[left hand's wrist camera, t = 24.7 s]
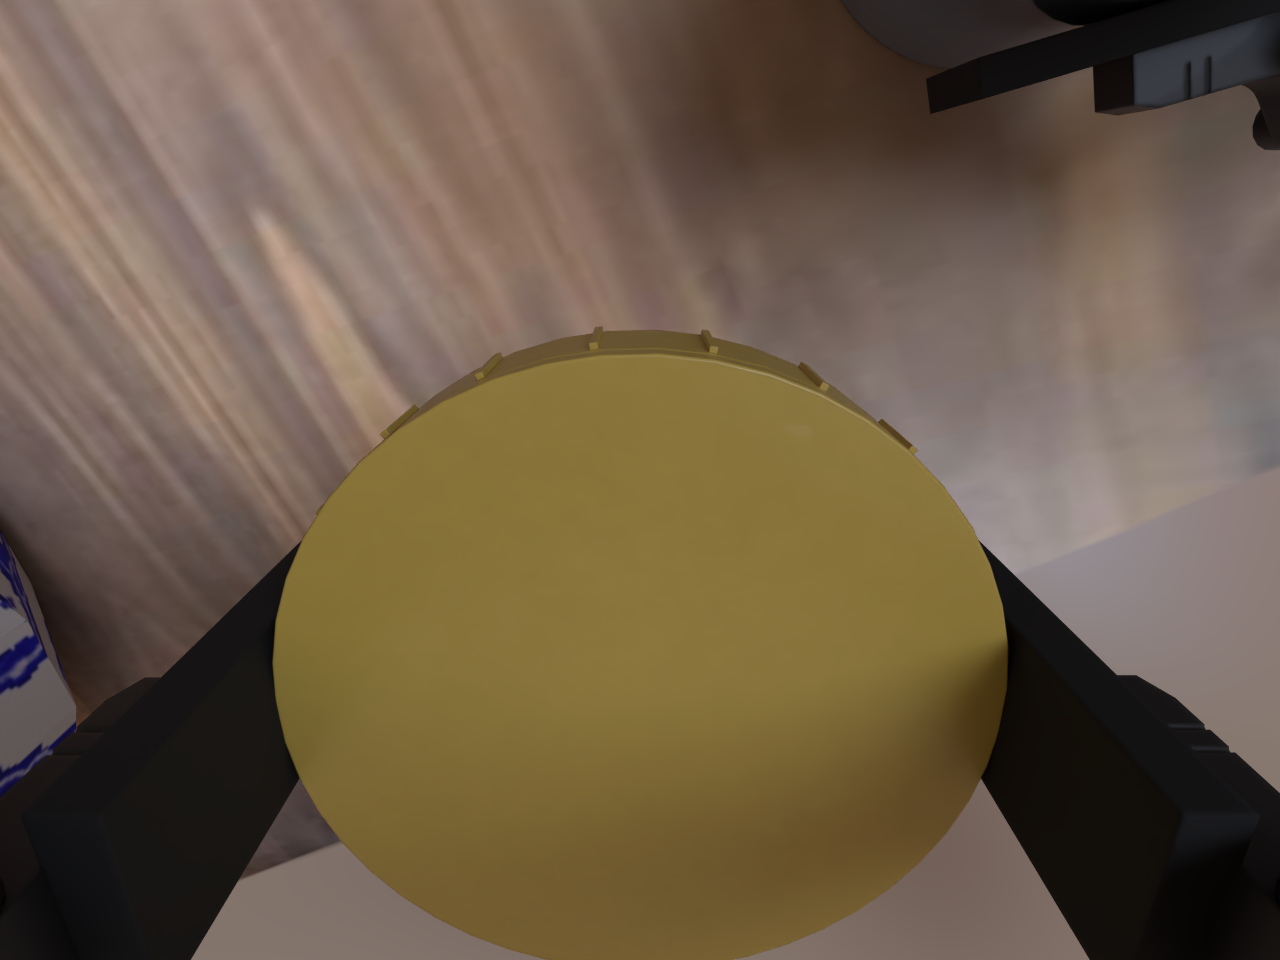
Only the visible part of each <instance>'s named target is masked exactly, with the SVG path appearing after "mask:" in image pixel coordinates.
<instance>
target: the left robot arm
mask: <svg viewBox="0 0 1280 960" xmlns="http://www.w3.org/2000/svg"><path fill="white" fill-rule="evenodd" d="M979 543H980V545H981V547H982V549H983V551H984V553H985V555H986V557H987V559H988V561H989V563H990V565H991V569H992V572H993V575H994V579H995V582H996V585H997V588H998V592H999V595H1000V598H1001V602H1002V605H1003V612H1004V619H1005V626H1006V634H1007V641H1008V681H1007V691H1006V696H1005V701H1004V706H1003V711H1002V716H1001V721H1000V725H999V730H998V734H997V738H996V742H995V745H994V748H993V750H992V753H991V756H990V759H989V762H988V765H987V767H986V769H985V771H984V773H983V775H982V777H981V779H982V781H983V782H984V784H985V786H986V787H987V789H988V791H989V792H990V794H991V796H992V797H993V799H994V801H995V802H996V804H997V806H998V807H999V809H1000V811H1001V812H1002V814H1003V816H1004V817H1005V819H1006V821H1007V822H1008V824H1009V826H1010V827H1011V829H1012V831H1013V832H1014V834H1015V836H1016V837H1017V839H1018V841H1019V842H1020V844H1021V846H1022V847H1023V849H1024V851H1025V852H1026V854H1027V856H1028V857H1029V859H1030V861H1031V862H1032V864H1033V866H1034V867H1035V869H1036V871H1037V872H1038V874H1039V876H1040V878H1041V879H1042V881H1043V883H1044V884H1045V886H1046V888H1047V889H1048V891H1049V892H1050V894H1051V896H1052V897H1053V899H1054V901H1055V903H1056V904H1057V906H1058V908H1059V909H1060V911H1061V913H1062V914H1063V916H1064V917H1065V919H1066V921H1067V923H1068V924H1069V926H1070V928H1071V929H1072V931H1073V932H1074V934H1075V936H1076V937H1077V939H1078V941H1079V943H1080V944H1081V946H1082V948H1083V949H1084V951H1085V952H1086V954H1087V956H1088V958H1089V959H1090V960H1280V793H1279V792H1278V791H1277V790H1276V789H1275V788H1274V787H1272V786H1271V785H1270V784H1269V783H1268V782H1267V781H1266V780H1265V779H1264V778H1263V777H1261V776H1260V775H1259V774H1258V773H1257V772H1256V771H1255V770H1254V769H1253V768H1252V767H1250V766H1249V765H1248V764H1247V763H1246V762H1245V761H1244V760H1243V759H1242V758H1241V757H1240V756H1238V755H1237V754H1236V753H1230V751H1229V746H1227V745H1226V744H1225V743H1224V742H1223V741H1222V740H1221V739H1220V738H1219V737H1218V736H1216V735H1215V734H1214V733H1213V732H1212V731H1211V730H1206V729H1205V727H1204V724H1203V723H1202V722H1201V721H1200V720H1199V719H1198V718H1197V717H1196V716H1194V715H1193V714H1192V713H1191V712H1190V711H1189V710H1188V709H1187V708H1186V707H1185V706H1183V705H1182V704H1181V703H1180V702H1179V701H1178V700H1177V699H1176V698H1175V697H1173V696H1171V695H1169V694H1168V693H1166V692H1164V691H1162V690H1161V689H1159V688H1157V687H1156V686H1154V685H1152V684H1150V683H1149V682H1147V681H1145V680H1143V679H1142V678H1140V677H1138V676H1136V675H1116V674H1115V673H1114V672H1113V671H1112V670H1111V669H1110V668H1109V667H1108V666H1107V665H1106V664H1105V663H1104V662H1103V661H1102V660H1101V659H1100V658H1099V657H1098V656H1097V655H1096V654H1095V653H1094V652H1093V651H1092V650H1091V649H1090V648H1089V647H1087V646H1086V645H1085V644H1084V643H1083V642H1082V641H1081V640H1080V639H1079V638H1078V637H1077V636H1076V635H1075V634H1074V633H1073V632H1072V631H1071V630H1070V629H1069V628H1068V627H1067V626H1066V625H1065V624H1064V623H1063V622H1062V621H1061V620H1060V619H1059V618H1058V617H1057V616H1056V615H1055V614H1054V613H1053V612H1052V611H1051V610H1050V609H1049V608H1048V607H1046V606H1045V605H1044V604H1043V603H1042V602H1041V601H1040V600H1039V599H1038V598H1037V597H1036V596H1035V595H1034V594H1033V593H1032V592H1031V591H1030V590H1029V589H1028V588H1027V587H1026V586H1025V585H1024V584H1023V583H1022V582H1021V581H1020V580H1019V579H1018V578H1017V577H1016V576H1015V575H1014V574H1013V573H1012V572H1011V571H1010V570H1009V569H1008V568H1007V567H1006V566H1004V565H1003V564H1002V563H1001V562H1000V561H999V560H998V559H997V558H996V557H995V556H994V555H993V554H992V553H991V552H990V551H989V550H988V549H987V548H986V547H985V546H984V545H983V544H982V543H981V542H980V541H979ZM300 544H301V542H300V543H299V544H298V545H296V546H295V547H294V548H293V549H292V550H291V551H290V552H289V553H288V554H287V555H286V556H285V557H284V558H283V559H282V560H281V561H280V562H279V563H278V564H277V565H276V566H275V567H274V568H273V569H272V570H271V571H270V572H269V573H268V574H267V575H266V576H265V577H264V578H263V579H262V580H261V581H260V582H259V583H258V584H257V585H256V586H254V587H253V588H252V589H251V590H250V591H249V592H248V593H247V594H246V595H245V596H244V597H243V598H242V599H241V600H240V601H239V602H238V603H237V604H236V605H235V606H234V607H233V608H232V609H231V610H230V611H229V612H228V613H227V614H226V615H225V616H224V617H223V618H222V619H221V620H220V621H219V622H218V623H217V624H216V625H215V626H214V627H212V628H211V629H210V630H209V631H208V632H207V633H206V634H205V635H204V636H203V637H202V638H201V639H200V640H199V641H198V642H197V643H196V644H195V645H194V646H193V647H192V648H191V649H190V650H189V651H188V652H187V653H186V654H185V655H184V656H183V657H182V658H181V659H180V660H179V661H178V662H177V663H176V664H175V665H174V666H173V667H172V668H170V669H169V670H168V671H167V672H166V673H165V674H164V675H163V676H162V677H161V678H144V679H142V680H140V681H138V682H137V683H135V684H133V685H132V686H130V687H128V688H126V689H125V690H123V691H121V692H120V693H118V694H116V695H114V696H113V697H111V698H109V699H107V700H106V701H105V702H104V703H103V704H102V705H100V706H99V707H98V708H97V709H96V710H95V711H94V712H93V713H92V714H91V715H90V716H88V717H87V718H86V719H85V720H84V721H83V722H82V723H81V724H80V725H79V726H78V727H77V731H76V732H71V733H70V734H69V735H68V736H67V737H66V738H65V739H63V740H62V741H61V742H60V743H59V744H58V745H57V746H56V747H55V748H54V749H53V753H52V755H46V756H45V757H44V758H43V759H42V760H41V761H39V762H38V763H37V764H36V765H35V766H34V767H33V768H32V769H31V770H30V771H29V772H27V773H26V774H25V775H24V776H23V777H22V778H21V779H20V780H19V781H18V782H17V783H15V784H14V785H13V786H12V787H11V788H10V789H9V790H8V791H7V792H6V793H5V794H4V795H2V796H1V797H0V960H191V958H192V957H193V955H194V953H195V952H196V950H197V948H198V947H199V945H200V943H201V942H202V940H203V938H204V937H205V935H206V933H207V932H208V930H209V928H210V927H211V925H212V923H213V922H214V920H215V918H216V917H217V915H218V913H219V912H220V910H221V908H222V907H223V905H224V903H225V901H226V900H227V898H228V897H229V895H230V893H231V892H232V890H233V888H234V887H235V885H236V883H237V882H238V880H239V878H240V877H241V875H242V873H243V872H244V870H245V868H246V867H247V865H248V863H249V862H250V860H251V858H252V857H253V855H254V853H255V852H256V850H257V848H258V847H259V845H260V843H261V842H262V840H263V838H264V837H265V835H266V833H267V832H268V830H269V828H270V827H271V825H272V823H273V822H274V820H275V818H276V817H277V815H278V813H279V812H280V810H281V808H282V807H283V805H284V803H285V802H286V800H287V798H288V797H289V795H290V793H291V792H292V790H293V788H294V787H295V785H296V783H297V782H298V780H299V775H298V773H297V770H296V768H295V765H294V763H293V760H292V758H291V755H290V753H289V750H288V748H287V745H286V743H285V739H284V735H283V730H282V726H281V721H280V717H279V712H278V707H277V703H276V697H275V688H274V676H273V664H272V661H273V649H274V636H275V623H276V617H277V613H278V609H279V605H280V600H281V596H282V592H283V588H284V584H285V580H286V577H287V575H288V572H289V570H290V567H291V565H292V563H293V560H294V558H295V556H296V553H297V551H298V549H299V546H300Z"/></svg>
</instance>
